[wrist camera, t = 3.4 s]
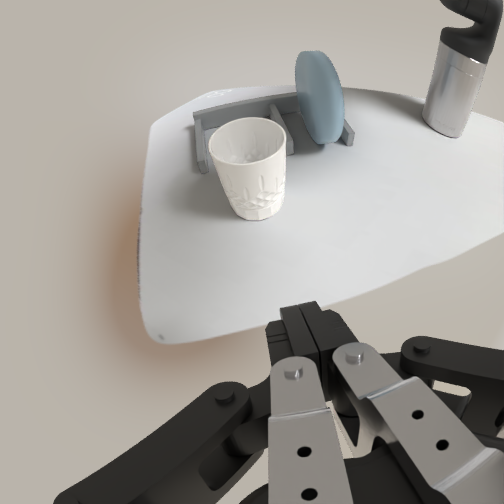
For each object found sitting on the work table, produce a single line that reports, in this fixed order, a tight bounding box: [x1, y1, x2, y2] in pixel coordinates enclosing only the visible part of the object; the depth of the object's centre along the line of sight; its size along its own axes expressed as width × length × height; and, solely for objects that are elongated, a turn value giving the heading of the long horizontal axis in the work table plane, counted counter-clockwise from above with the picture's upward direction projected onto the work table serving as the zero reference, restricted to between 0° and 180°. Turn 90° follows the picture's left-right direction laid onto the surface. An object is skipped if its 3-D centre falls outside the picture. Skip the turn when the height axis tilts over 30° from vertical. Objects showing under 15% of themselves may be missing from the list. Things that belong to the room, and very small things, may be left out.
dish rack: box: [193, 51, 355, 174], centre depth 34 cm, size 15×23×14 cm, turn 100°
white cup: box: [208, 117, 286, 221], centre depth 30 cm, size 8×8×10 cm
